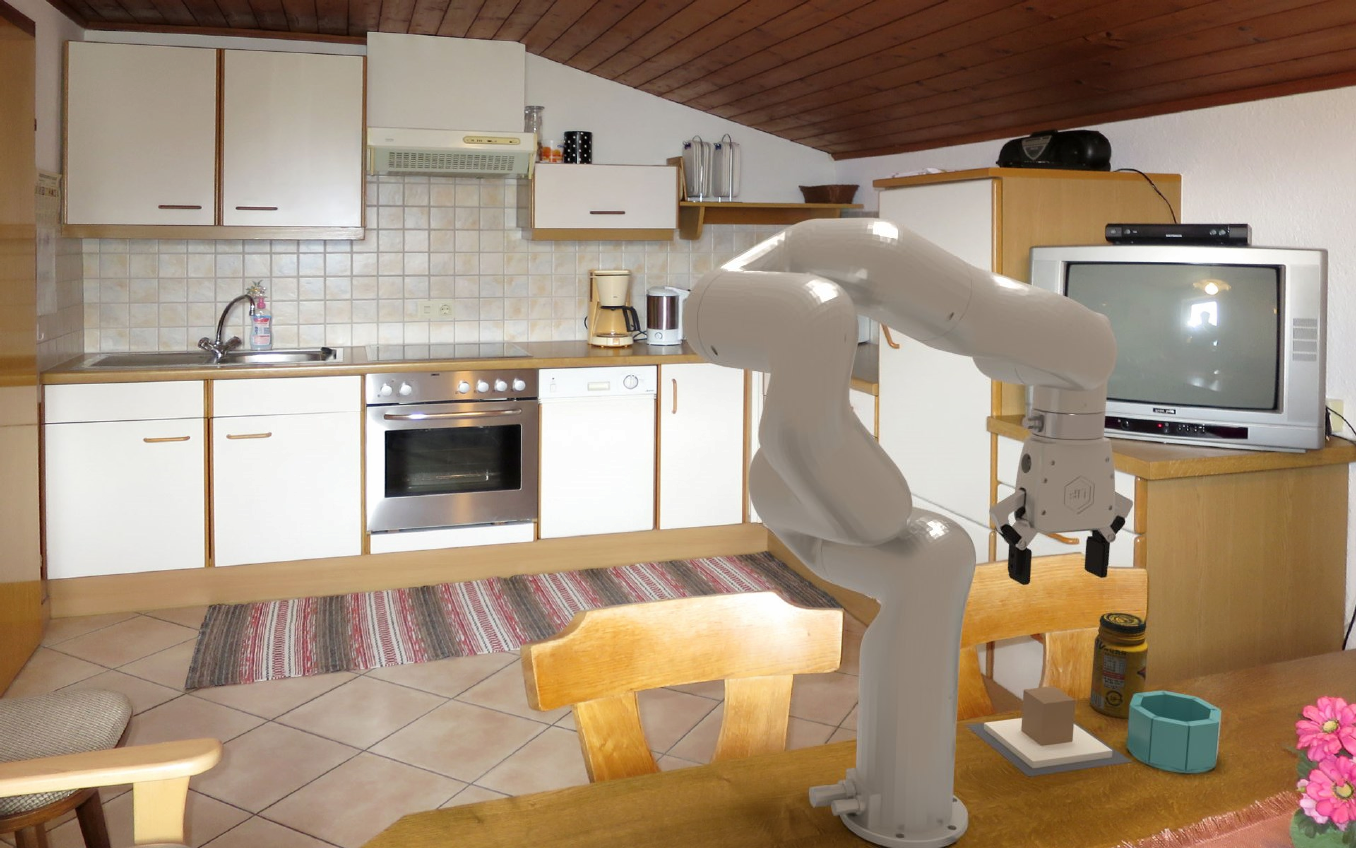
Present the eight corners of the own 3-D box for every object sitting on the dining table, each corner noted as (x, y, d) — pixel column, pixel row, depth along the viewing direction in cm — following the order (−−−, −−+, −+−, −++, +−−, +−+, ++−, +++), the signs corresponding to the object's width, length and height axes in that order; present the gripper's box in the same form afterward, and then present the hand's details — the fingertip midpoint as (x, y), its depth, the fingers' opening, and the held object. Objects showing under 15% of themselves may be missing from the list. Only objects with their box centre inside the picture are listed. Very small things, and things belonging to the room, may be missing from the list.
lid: (1032, 768, 120) (1035, 718, 119) (983, 729, 129) (986, 682, 128) (1112, 757, 123) (1115, 708, 122) (1058, 719, 132) (1061, 673, 131)
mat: (1028, 781, 118) (1028, 776, 118) (965, 729, 131) (965, 725, 130) (1132, 766, 122) (1132, 761, 122) (1061, 717, 134) (1061, 713, 134)
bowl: (1164, 782, 118) (1168, 729, 117) (1110, 745, 127) (1114, 696, 126) (1234, 772, 120) (1239, 719, 120) (1177, 737, 129) (1181, 688, 128)
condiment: (1158, 716, 135) (1165, 621, 133) (1114, 733, 130) (1122, 635, 128) (1105, 695, 141) (1112, 604, 139) (1062, 710, 136) (1069, 617, 134)
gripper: (1015, 435, 114) (1007, 594, 117) (1158, 428, 119) (1146, 581, 121) (977, 423, 121) (970, 574, 124) (1113, 417, 126) (1103, 562, 129)
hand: (1057, 577), depth 123 cm, fingers open, 9 cm apart
